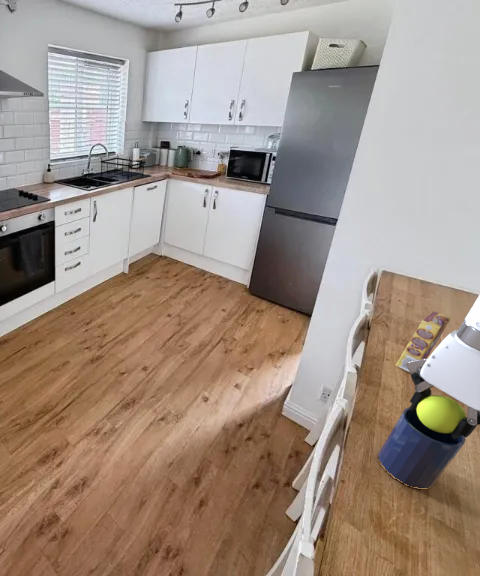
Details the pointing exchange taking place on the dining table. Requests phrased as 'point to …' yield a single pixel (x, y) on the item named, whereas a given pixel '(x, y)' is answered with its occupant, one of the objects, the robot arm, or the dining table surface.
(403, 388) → the dining table surface
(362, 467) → the dining table surface
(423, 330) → the candy box
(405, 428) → the blue round container
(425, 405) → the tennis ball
